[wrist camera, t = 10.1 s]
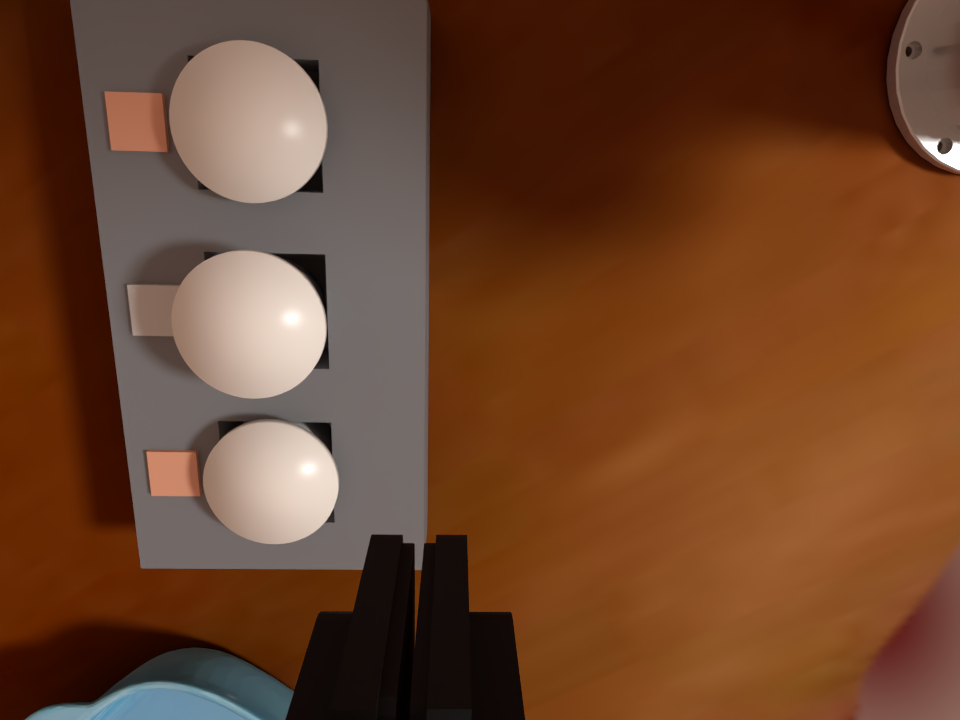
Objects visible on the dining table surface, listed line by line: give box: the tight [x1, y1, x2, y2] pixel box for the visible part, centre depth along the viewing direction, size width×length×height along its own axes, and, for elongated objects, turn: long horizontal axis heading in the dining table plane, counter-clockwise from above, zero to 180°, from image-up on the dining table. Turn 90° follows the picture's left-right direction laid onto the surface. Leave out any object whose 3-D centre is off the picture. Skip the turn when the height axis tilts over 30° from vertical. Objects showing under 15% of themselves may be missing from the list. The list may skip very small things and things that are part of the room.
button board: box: [70, 0, 431, 570], centre depth 37 cm, size 16×30×5 cm, turn 178°
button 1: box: [169, 40, 328, 203], centre depth 33 cm, size 7×7×5 cm
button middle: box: [171, 250, 327, 399], centre depth 34 cm, size 7×7×5 cm
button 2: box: [203, 419, 339, 544], centre depth 38 cm, size 7×7×5 cm
